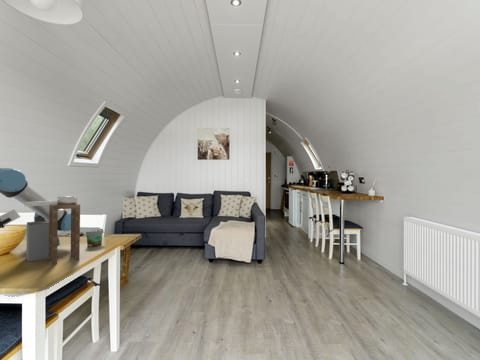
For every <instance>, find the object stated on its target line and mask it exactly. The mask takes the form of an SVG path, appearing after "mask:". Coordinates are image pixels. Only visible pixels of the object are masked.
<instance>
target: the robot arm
mask: <svg viewBox="0 0 480 360" xmlns="http://www.w3.org/2000/svg"><path fill="white" fill-rule="evenodd" d="M26 178H27V177H26V175H25V174H24V173H23V172H22V171H21V170H18V169H17V168H16V169H15V168H10V167H2V168H0V194H1V195H2V196H5V197H6V198H7V199H9V198H10V199H15V200H17V201H18V202H20V203H21V204H23V205H24V206H25V202H37V201H49V200H48V199H47V198H46V197H44V196H42V195H41V194H40V193H38V192H37V191H36V190H34V189H33V188H32V187H30V186H29V182H28V181H27V179H26ZM26 207H27V208H29V209H30V210H31V211H33V212H34V217H33V219H34V220H33V222H37V221H49V205H44V206H26ZM19 218H21V215H20V214H19V213H18V212H17V211H16V209H12V210H10V211H7V212H5V213H3V214H2V215H0V229H4V228H5V225H7V224H9V223H12V222H14V221H16V220H17V219H19ZM58 231H60V232H69V231H70V232H71V211H70V212H69V211H67V209H58ZM58 231H57V232H58ZM60 242H61V240H60V238H59V235H58V234H57V246H59V245H60V244H61V243H60Z"/></svg>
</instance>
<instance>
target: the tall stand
mask: <svg viewBox="0 0 480 360" xmlns="http://www.w3.org/2000/svg"><path fill="white" fill-rule="evenodd" d="M58 209H64V210H68V209H69V210H70V212H71V230H70V258H73V260H75V261H79V260H80V243H81V240H80V239H81V238H80V237H81V236H80V235H81V203H77V204H73V205H49V258H48V262H51V265H57V263H58V245H57V235H58Z"/></svg>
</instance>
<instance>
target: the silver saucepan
mask: <svg viewBox="0 0 480 360" xmlns="http://www.w3.org/2000/svg"><path fill="white" fill-rule="evenodd" d="M73 204H78V195H77V196H76V195H65V196H64V195H62V196H57V197H56V200H48V201H37V202H25V205H24V207H27V206H44V205H73Z"/></svg>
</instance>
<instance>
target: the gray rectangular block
mask: <svg viewBox="0 0 480 360" xmlns="http://www.w3.org/2000/svg"><path fill="white" fill-rule="evenodd" d="M25 246H26V249H25V251H26V254H25V257H26V260H27V263H28V262H34V261H40V260H41V261H42V260H44V259H45V260H47V259H49V221H37V222H34V221H29V222H26V245H25Z"/></svg>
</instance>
